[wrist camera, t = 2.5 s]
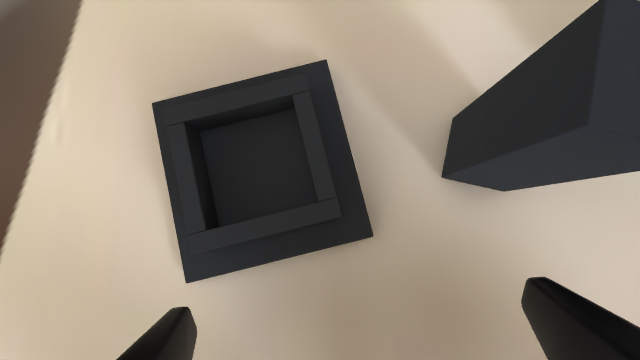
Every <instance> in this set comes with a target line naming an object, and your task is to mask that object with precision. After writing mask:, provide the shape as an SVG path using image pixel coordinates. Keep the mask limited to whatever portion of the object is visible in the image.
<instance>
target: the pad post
mask: <svg viewBox="0 0 640 360" xmlns="http://www.w3.org/2000/svg"><path fill="white" fill-rule="evenodd" d="M635 171H640V1H638V0H599V1H598V2H596V3H595V4H594V5H593V6H591V7H590V8H589V9H588V10H586V11H585V12H584V13H583V14H582V15H580V16H579V17H578V18H577V19H575V20H574V21H573V22H572V23H570V24H569V25H568V26H567V27H565V28H564V29H563V30H562V31H560V32H559V33H558V34H557V35H555V36H554V37H553V38H552V39H551V40H549V41H548V42H547V43H546V44H544V45H543V46H542V47H541V48H539V49H538V50H537V51H536V52H534V53H533V54H532V55H531V56H529V57H528V58H527V59H526V60H524V61H523V62H522V63H521V64H520V65H518V66H517V67H516V68H515V69H513V70H512V71H511V72H510V73H508V74H507V75H506V76H505V77H503V78H502V79H501V80H500V81H498V82H497V83H496V84H495V85H493V86H492V87H491V88H490V89H488V90H487V91H486V92H485V93H484V94H482V95H481V96H480V97H479V98H477V99H476V100H475V101H474V102H472V103H471V104H470V105H469V106H467V107H466V108H465V109H464V110H462V111H461V112H460V113H459V114H457V115H456V116H455V117H454V118H453V120H452V125H451V130H450V136H449V141H448V146H447V151H446V156H445V161H444V167H443V172H442V178H446V179H450V180H455V181H459V182H464V183H468V184H473V185H477V186H482V187H486V188H490V189H495V190H499V191H511V190H517V189H524V188H530V187H537V186H543V185H550V184H557V183H563V182H570V181H576V180H583V179H589V178H596V177H602V176H609V175H616V174H622V173H629V172H635Z"/></svg>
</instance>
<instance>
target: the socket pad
mask: <svg viewBox="0 0 640 360" xmlns="http://www.w3.org/2000/svg"><path fill="white" fill-rule="evenodd" d="M152 107H153V113H154V118H155V123H156V128H157V134H158V139H159V144H160V149H161V155H162V160H163V165H164V170H165V176H166V181H167V186H168V191H169V197H170V202H171V207H172V212H173V218H174V223H175V228H176V233H177V239H178V244H179V249H180V254H181V260H182V265H183V270H184V275H185V281H186V283H190V282H194V281H198V280H202V279H206V278H210V277H214V276H218V275H222V274H226V273H230V272H234V271H238V270H242V269H246V268H250V267H254V266H258V265H262V264H266V263H270V262H274V261H278V260H282V259H286V258H290V257H294V256H298V255H302V254H306V253H310V252H314V251H318V250H322V249H326V248H330V247H334V246H338V245H342V244H346V243H350V242H354V241H357V240H361V239H365V238H369V237H373V232H372V229H371V225H370V221H369V217H368V214H367V210H366V206H365V202H364V199H363V195H362V191H361V187H360V184H359V180H358V176H357V172H356V169H355V165H354V161H353V157H352V154H351V150H350V146H349V142H348V139H347V135H346V131H345V127H344V124H343V120H342V116H341V112H340V109H339V105H338V101H337V97H336V94H335V90H334V86H333V82H332V79H331V75H330V71H329V67H328V64H327V60H322V61H318V62H314V63H310V64H306V65H302V66H298V67H294V68H290V69H286V70H282V71H278V72H274V73H270V74H266V75H262V76H258V77H254V78H250V79H246V80H242V81H238V82H234V83H230V84H226V85H222V86H218V87H214V88H210V89H206V90H202V91H198V92H194V93H190V94H186V95H182V96H178V97H174V98H170V99H166V100H162V101H158V102H154V103H152Z"/></svg>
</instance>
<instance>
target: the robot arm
mask: <svg viewBox="0 0 640 360" xmlns="http://www.w3.org/2000/svg"><path fill="white" fill-rule="evenodd" d="M521 304H522V308H523V311H524V313H525V315H526V317H527V319H528V321H529V323H530V325H531V327H532V329H533V331H534V333H535V335H536V337H537V339H538V341H539V343H540V345H541V347H542V349H543V351H544V353H545V355H546V357H547V359H548V360H640V327H638V326H636V325H634V324H632V323H630V322H629V321H627V320H625V319H623V318H621V317H619V316H617V315H616V314H614V313H612V312H610V311H608V310H606V309H604V308H603V307H601V306H599V305H597V304H595V303H593V302H591V301H590V300H588V299H586V298H584V297H582V296H580V295H578V294H577V293H575V292H573V291H571V290H569V289H567V288H565V287H564V286H562V285H560V284H558V283H556V282H554V281H552V280H551V279H549V278H546V277H532V278H528V279H527V280H526V283H525V287H524V291H523V295H522V299H521ZM196 338H197V327H196V324H195V322H194V319H193V316H192V313H191V311H190V309H189V308H188V307H177V308H172V309H171V310H169V311H168V312H167V313H166V314H165V315H164V316H163V317H162V318H161V319H160V320H159V321H157V322H156V323H155V324H154V325H153V326H152V327H151V328H150V329H149V330H148V331H147V332H146V333H144V334H143V335H142V336H141V337H140V338H139V339H138V340H137V341H136V342H135V343H134V344H133V345H132V346H130V347H129V348H128V349H127V350H126V351H125V352H124V353H123V354H122V355H121V356H120V357H119V358H117V359H116V360H192V358H193V353H194V348H195V343H196Z"/></svg>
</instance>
